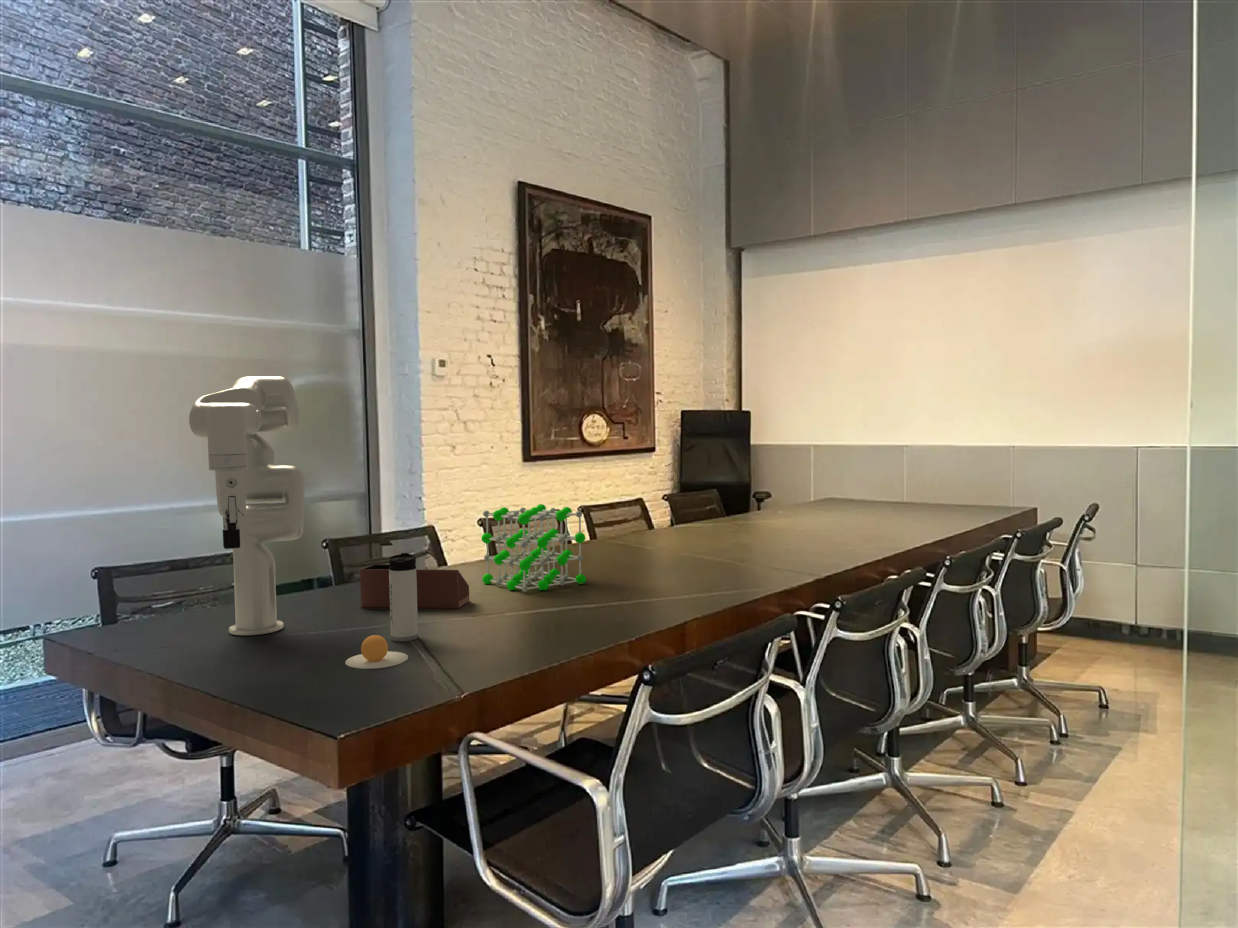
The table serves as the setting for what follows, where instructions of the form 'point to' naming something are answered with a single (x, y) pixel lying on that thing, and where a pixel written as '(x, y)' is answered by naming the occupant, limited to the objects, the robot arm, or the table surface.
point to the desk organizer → (431, 589)
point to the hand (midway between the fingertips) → (231, 547)
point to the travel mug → (403, 597)
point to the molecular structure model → (541, 551)
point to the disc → (387, 661)
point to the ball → (374, 648)
